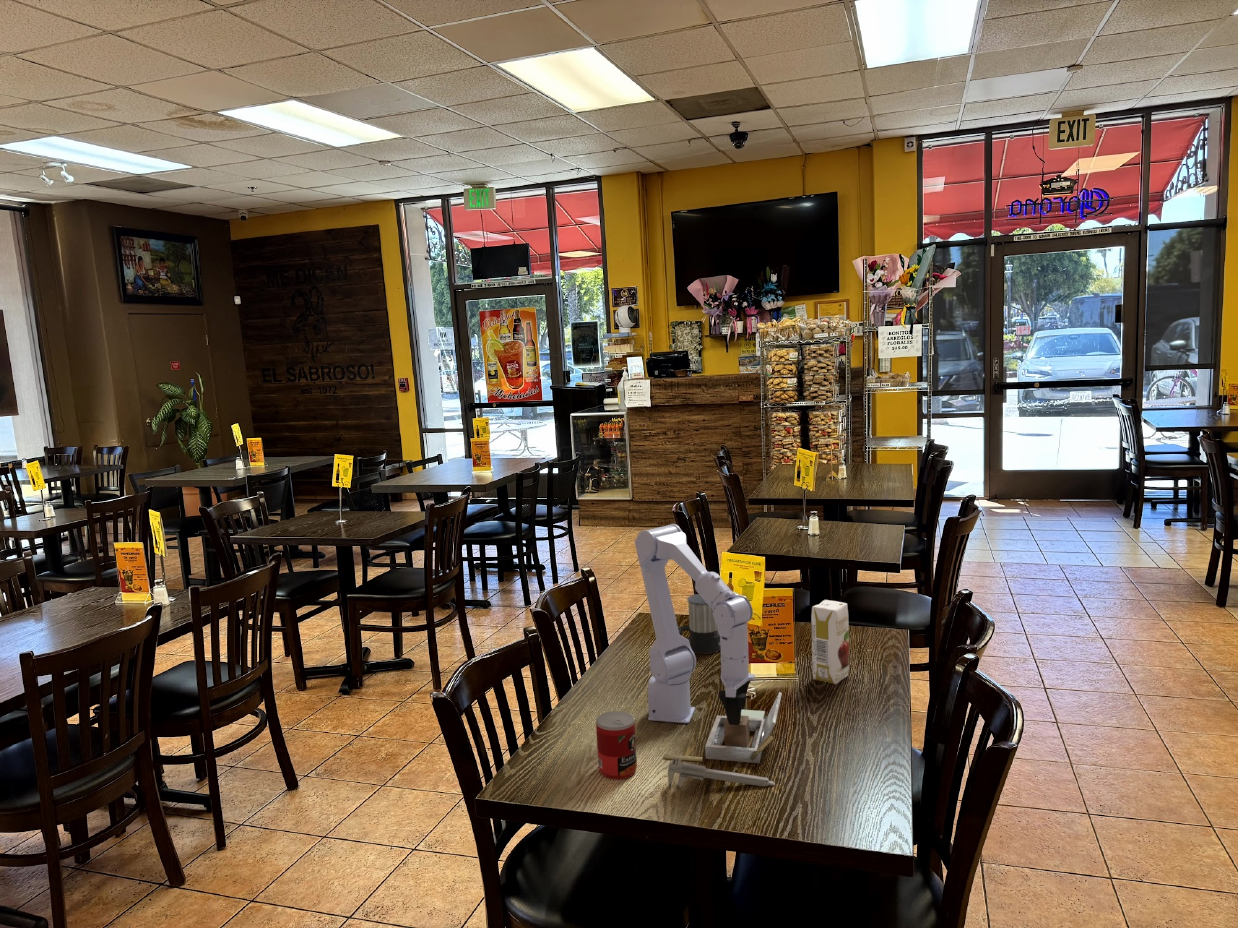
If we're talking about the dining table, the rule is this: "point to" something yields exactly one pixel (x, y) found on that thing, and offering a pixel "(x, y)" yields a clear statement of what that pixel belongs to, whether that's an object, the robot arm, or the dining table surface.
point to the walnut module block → (737, 733)
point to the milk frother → (701, 627)
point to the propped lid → (768, 727)
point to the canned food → (616, 744)
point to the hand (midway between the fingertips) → (736, 716)
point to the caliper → (711, 774)
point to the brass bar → (683, 757)
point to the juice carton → (830, 641)
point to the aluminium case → (728, 752)
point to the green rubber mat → (753, 713)
